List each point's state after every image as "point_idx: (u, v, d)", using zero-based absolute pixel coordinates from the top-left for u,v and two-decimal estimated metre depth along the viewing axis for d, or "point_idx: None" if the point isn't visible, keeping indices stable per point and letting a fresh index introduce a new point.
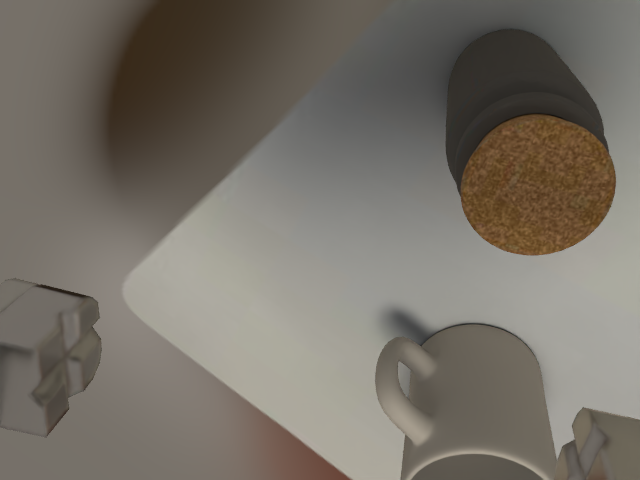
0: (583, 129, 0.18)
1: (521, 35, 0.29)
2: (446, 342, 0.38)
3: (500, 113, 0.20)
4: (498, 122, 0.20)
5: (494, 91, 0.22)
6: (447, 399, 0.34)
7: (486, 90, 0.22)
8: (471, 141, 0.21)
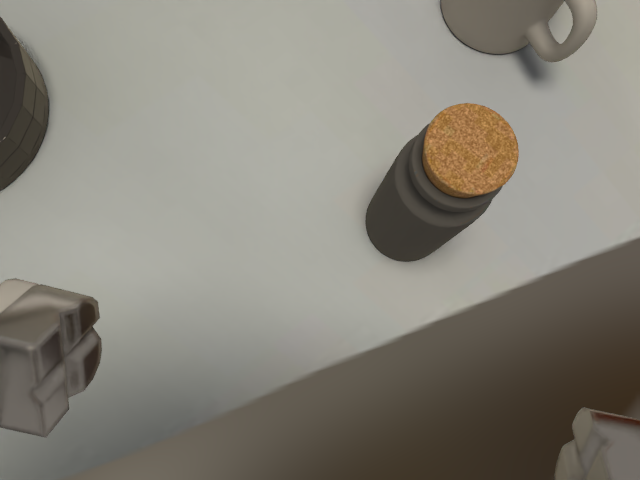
0: (436, 175, 0.29)
1: (391, 250, 0.41)
2: (509, 43, 0.46)
3: (469, 203, 0.31)
4: (472, 198, 0.31)
5: (455, 218, 0.33)
6: (538, 1, 0.41)
7: (459, 221, 0.33)
8: (491, 193, 0.31)
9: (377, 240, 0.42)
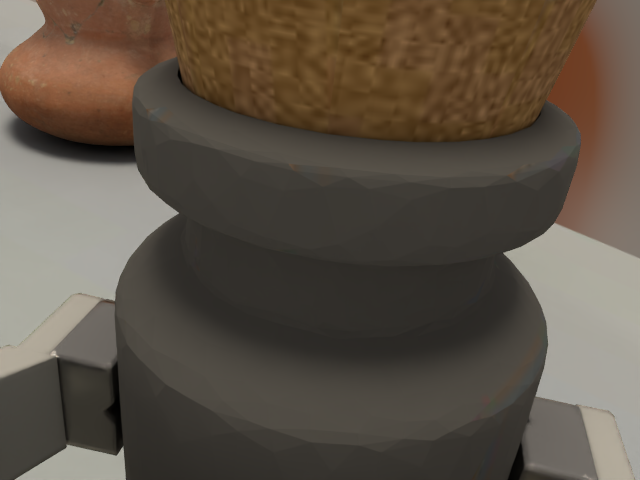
0: None
1: None
2: None
3: (491, 158, 0.05)
4: (491, 139, 0.06)
5: (450, 379, 0.06)
6: None
7: (470, 394, 0.06)
8: (558, 132, 0.06)
9: None
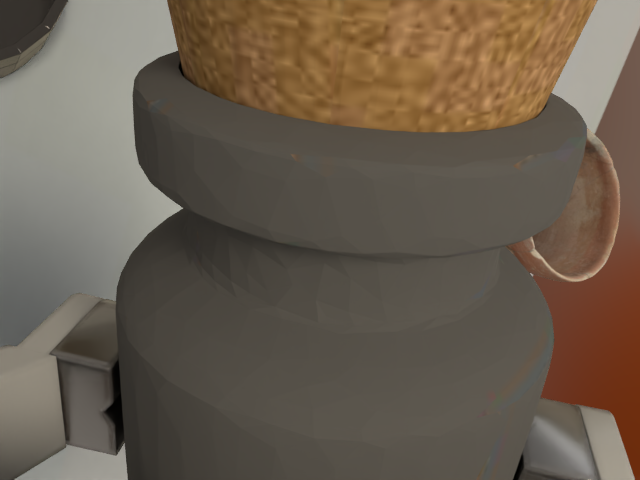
0: None
1: None
2: None
3: (497, 149, 0.05)
4: (497, 130, 0.05)
5: (455, 374, 0.06)
6: None
7: (476, 391, 0.06)
8: (564, 124, 0.06)
9: None
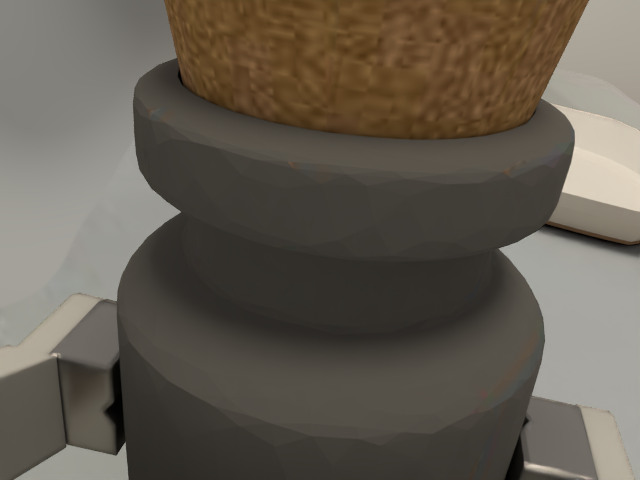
0: None
1: None
2: None
3: (487, 156, 0.05)
4: (487, 136, 0.06)
5: (448, 373, 0.06)
6: None
7: (468, 388, 0.06)
8: (552, 130, 0.06)
9: None
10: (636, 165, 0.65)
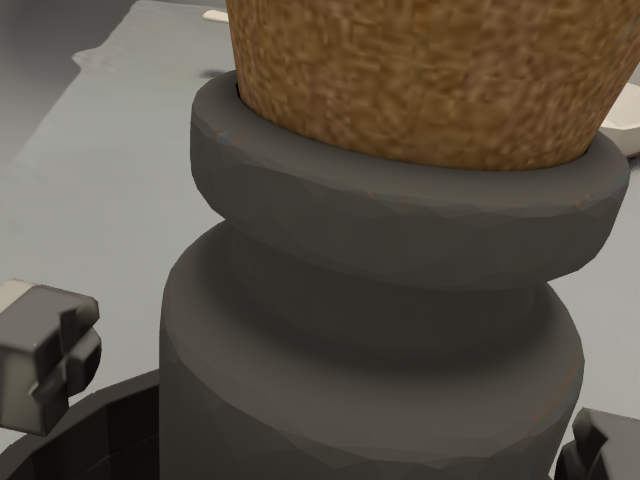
0: None
1: None
2: None
3: (557, 188, 0.06)
4: (555, 168, 0.06)
5: (502, 397, 0.06)
6: None
7: (520, 412, 0.07)
8: (610, 160, 0.06)
9: None
10: None
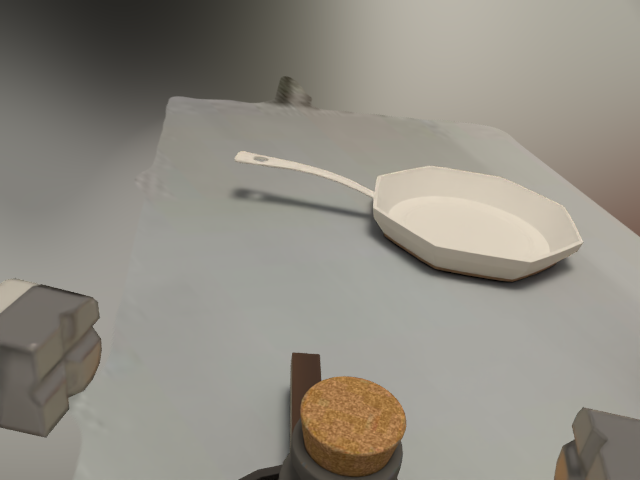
0: (326, 445, 0.25)
1: None
2: None
3: (375, 479, 0.26)
4: (376, 473, 0.26)
5: None
6: None
7: None
8: (394, 463, 0.27)
9: None
10: (520, 213, 0.84)
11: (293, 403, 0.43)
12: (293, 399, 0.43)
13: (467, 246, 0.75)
